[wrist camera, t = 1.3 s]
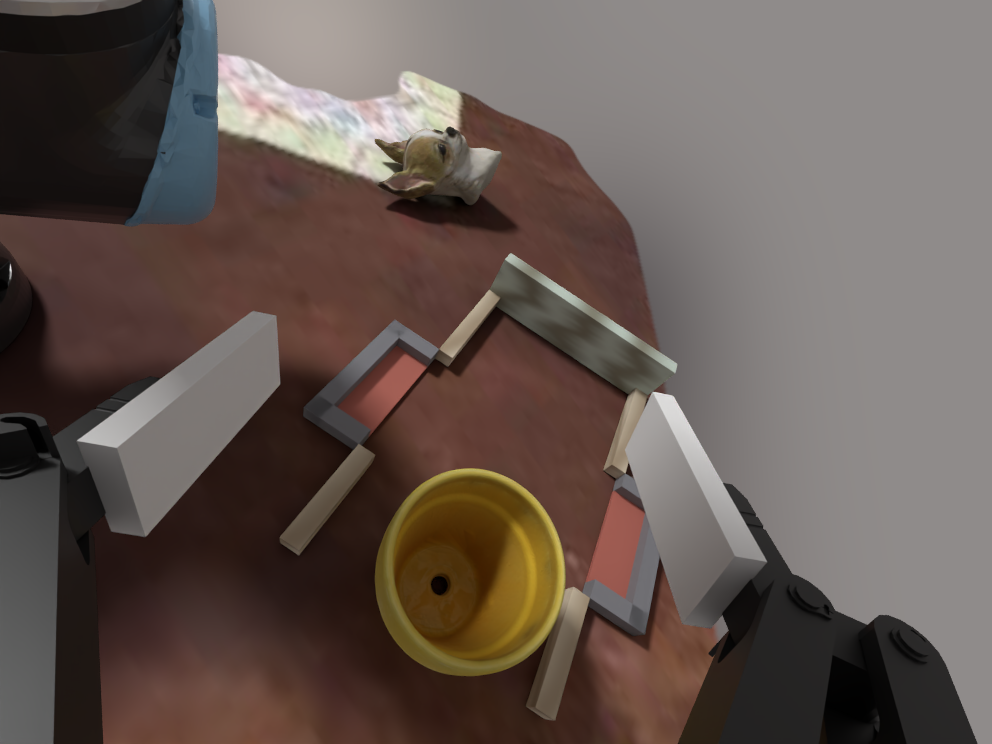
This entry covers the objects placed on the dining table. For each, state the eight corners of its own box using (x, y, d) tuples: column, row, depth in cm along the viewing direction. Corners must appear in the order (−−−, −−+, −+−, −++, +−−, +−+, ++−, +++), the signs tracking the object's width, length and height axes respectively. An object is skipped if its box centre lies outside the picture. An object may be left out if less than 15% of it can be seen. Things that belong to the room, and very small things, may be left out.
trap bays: (303, 416, 34) (303, 407, 32) (391, 329, 41) (394, 319, 40) (632, 636, 34) (645, 634, 33) (659, 507, 41) (669, 502, 40)
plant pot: (432, 486, 34) (471, 433, 27) (528, 581, 33) (597, 552, 26) (324, 595, 28) (336, 564, 20) (439, 719, 26) (497, 734, 19)
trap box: (279, 542, 28) (278, 516, 24) (490, 292, 50) (510, 253, 45) (544, 719, 28) (592, 726, 24) (641, 393, 50) (677, 364, 45)
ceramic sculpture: (515, 165, 50) (382, 138, 45) (492, 226, 57) (375, 209, 51) (498, 118, 56) (378, 88, 50) (480, 178, 62) (372, 158, 57)
